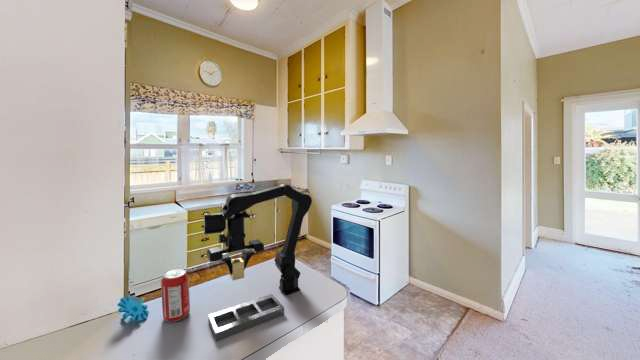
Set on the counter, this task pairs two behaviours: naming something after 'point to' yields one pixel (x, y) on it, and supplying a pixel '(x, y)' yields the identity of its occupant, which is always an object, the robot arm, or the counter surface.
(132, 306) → the gear
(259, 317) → the tray
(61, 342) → the counter surface
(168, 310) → the soda can
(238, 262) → the brass block
